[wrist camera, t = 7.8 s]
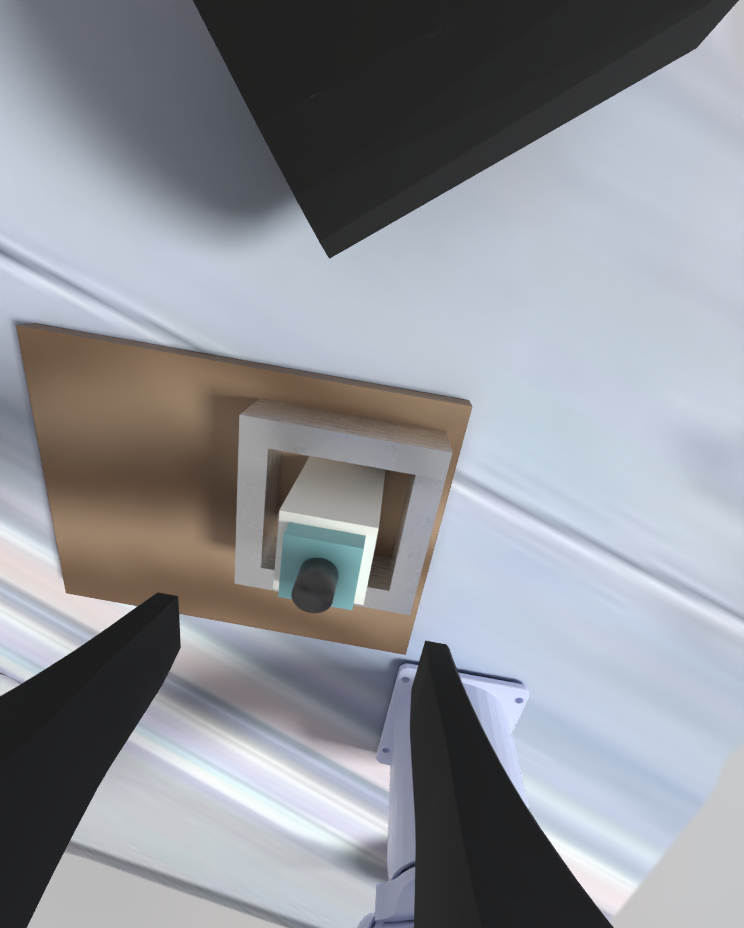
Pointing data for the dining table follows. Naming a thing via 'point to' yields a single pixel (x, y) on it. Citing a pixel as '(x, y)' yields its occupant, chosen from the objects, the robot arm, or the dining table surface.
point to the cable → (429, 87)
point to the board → (194, 474)
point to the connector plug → (328, 535)
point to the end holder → (347, 441)
